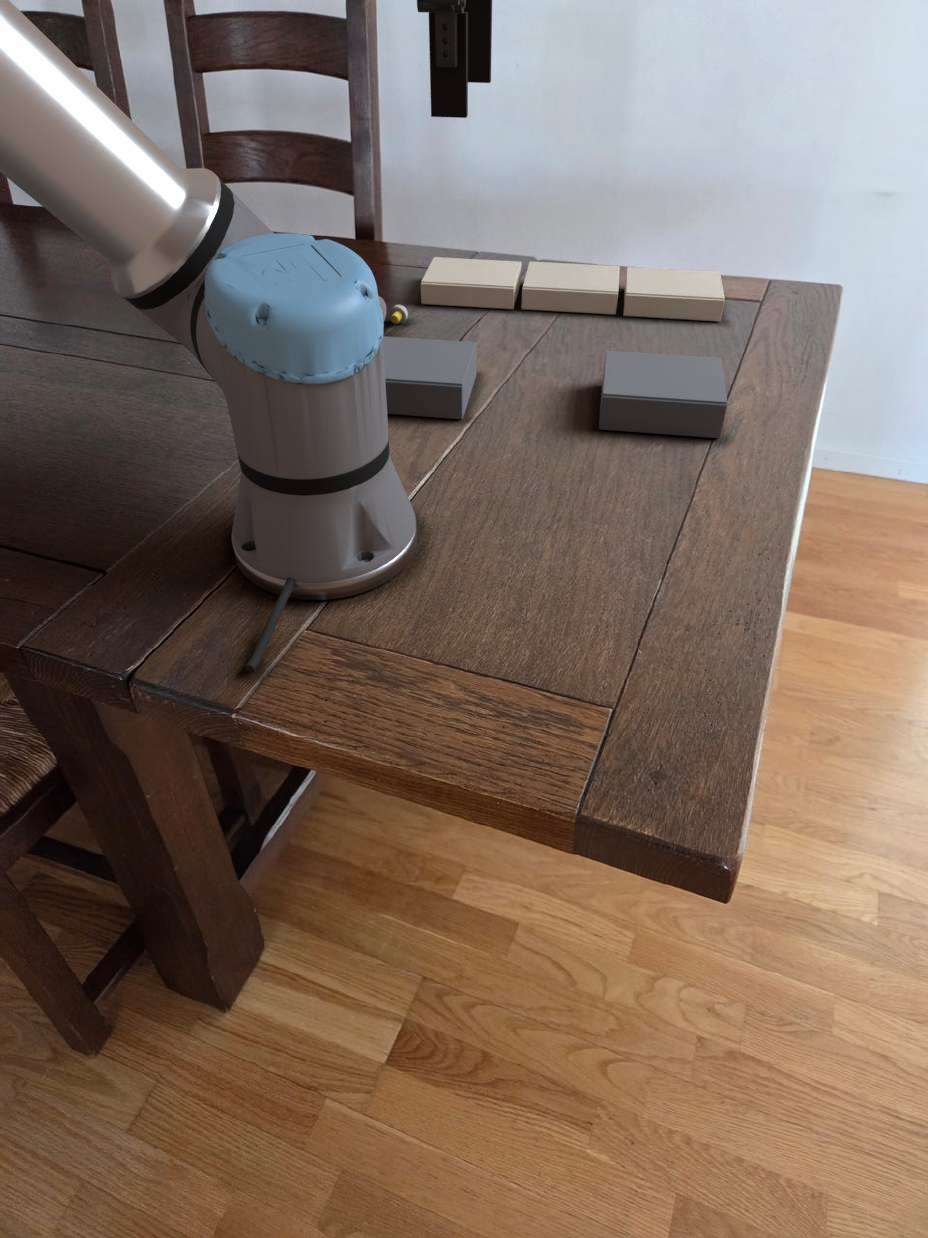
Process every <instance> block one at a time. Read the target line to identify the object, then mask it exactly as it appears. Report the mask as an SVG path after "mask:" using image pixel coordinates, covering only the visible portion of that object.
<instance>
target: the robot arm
mask: <svg viewBox="0 0 928 1238" xmlns="http://www.w3.org/2000/svg"><path fill="white" fill-rule="evenodd" d="M416 9H417V13H428V40H429V41H428V42H429V43H428V44H429V48H428V49H429V84H430V85H429V86H430V89H429V90H430V117H431V118H457V119H458V118H459V119H467V117H468V115H469V83H474V84H475V83H476V84H490V83H491V82H492V47H493V46H492V41H493V39H492V37H493V34H492V33H493V0H416ZM0 173H1V174H2V175H3V176H4V177H6V178H7V180H9V181H10V182H12V183H13V184H14V185H16V186H17V188H19V189H20V190H21V191H23V192H24V193H25V194H26V195H28V196H29V197H30V198H31V199H33V200H34V201H35V202H36V203H37V204H39V205H40V206H41V207H43V209H45V210H46V211H47V212H48V213H50V214H51V215H53V217H55V218H56V219H57V220H59V222H61V223H62V224H64V225H65V226H66V227H67V228H68V229H70V230H71V232H73V233H74V234H75V235H77V236H78V237H80V239H82V240H83V241H84V242H86V243H87V244H88V245H89V246H91V248H93V249H94V250H96V251H97V252H98V253H99V254H100V255H101V256H103V257H104V258H105V259H106V260H107V262H108V265H109V272H110V279H111V285H112V287H113V290H114V291H115V292H116V293H117V294H118V295H119V296H121V298H123V299H124V300H126V301H127V302H128V303H129V304H131V306H133V307H134V308H135V309H137V310H138V311H139V312H141V313H142V314H143V315H144V316H146V317H147V318H148V319H150V320H151V321H152V322H153V323H154V324H156V325H157V326H158V327H160V328H161V329H162V330H163V331H165V332H166V333H167V334H169V335H170V336H171V337H172V338H174V339H175V340H176V341H177V342H178V343H180V344H181V345H182V346H183V347H184V348H186V350H188V352H189V353H191V354H192V355H193V357H194V358H195V359H196V360H197V361H198V362H199V364H200V365H201V366H202V367H203V368H204V370H205V371H206V373H207V374H208V375H209V376H210V377H211V378H212V380H213V381H214V382H215V383H216V385H217V386H218V387H219V388H220V390H221V391H222V393H223V396H224V398H225V401H226V404H227V408H228V414H229V418H230V423H231V428H232V434H233V438H234V439H233V440H234V443H235V448H236V452H237V458H238V463H239V467H240V479H239V480H240V482H239V487H238V492H237V500H236V505H235V510H234V516H233V522H232V528H231V529H232V530H231V544H232V549H233V552H234V557H235V561H236V564H237V567H238V568H239V571H241V574H242V575H243V576H244V577H245V578H246V579H247V580H249V581H250V582H251V583H252V584H253V585H255V586H257V587H258V588H260V589H262V590H264V591H266V592H269V593H271V594H273V595H277V596H278V597H277V599H276V601H275V603H274V606H273V608H272V610H271V612H270V614H269V616H268V619H267V621H266V623H265V626H264V628H263V630H262V632H261V634H260V636H259V639H258V641H257V643H256V645H255V647H254V649H253V652H252V654H251V656H250V658H249V660H248V662H247V663H246V665H245V666H244V669H245V670H246V671H247V672H248V673H254V672H255V670H256V668H257V667H258V666H259V664H260V661H261V660H262V658H263V656H264V654H265V652H266V649H267V647H268V645H269V643H270V640H271V638H272V636H273V634H274V631H275V629H276V626H277V624H278V622H279V620H280V617H281V615H282V613H283V611H284V609H285V606H286V604H287V602H288V600H289V598H290V599H296V600H304V601H305V600H306V601H323V600H324V601H325V600H334V599H343V598H347V597H352V596H356V595H359V594H361V593H362V594H363V593H365V592H368V591H370V590H373V589H375V588H377V587H379V586H382V585H383V584H385V583H387V582H388V581H390V580H391V579H393V578H394V577H396V576H397V575H398V574H399V573H401V572H402V571H403V570H404V569H405V568H406V567H407V565H409V563H410V562H411V560H412V558H413V556H414V554H415V553H416V550H417V546H418V531H417V530H418V529H417V528H418V525H417V515H416V513H415V510H414V508H413V505H412V502H411V501H410V499H409V496H408V494H407V491H406V490H405V487H404V486H403V483H402V481H401V479H400V477H399V474H398V471H397V470H396V467H395V465H394V463H393V461H392V459H391V450H390V439H389V418H388V414H387V400H386V384H385V367H384V350H383V336H384V334H385V333H384V331H385V330H384V328H385V323H384V322H383V312H382V309H381V307H380V303H379V298H378V296H379V295H378V294H379V293H378V285H377V281H376V278H375V275H374V274H373V272H372V270H371V268H370V267H369V265H368V263H366V261H365V260H364V259H363V258H362V257H361V256H360V255H359V254H357V253H356V252H355V251H353V250H352V249H350V248H348V247H347V246H345V245H343V244H341V243H339V242H337V241H334V240H331V239H329V238H323V239H315V238H314V236H313V235H310V234H302V233H290V232H287V233H286V232H283V233H282V232H281V233H279V232H278V233H275V232H274V231H272V230H271V229H270V228H269V227H268V226H267V225H266V224H265V222H263V221H262V220H261V218H260V217H259V216H257V214H255V212H254V211H252V209H250V208H249V207H248V205H247V204H246V203H245V202H244V201H243V200H241V198H240V197H239V196H238V195H236V194H235V192H234V191H233V190H231V188H230V187H228V186H227V184H225V182H224V181H223V180H222V179H221V178H220V177H219V176H218V175H217V174H216V173H215V172H214V171H212V170H210V169H208V168H204V167H203V168H202V167H196V168H192V167H191V168H182V167H180V166H179V165H177V163H175V162H174V161H173V160H172V158H171V157H169V155H167V153H165V152H164V151H163V150H162V149H161V148H160V147H159V146H158V145H157V144H156V143H155V142H154V141H153V140H152V139H151V138H150V137H149V136H148V135H147V134H146V133H145V132H144V131H143V130H142V129H141V128H140V127H139V126H138V125H137V124H136V123H135V122H133V120H132V119H131V118H130V117H128V115H127V114H125V113H124V111H122V110H121V109H120V107H118V105H116V103H114V102H113V100H112V99H110V98H109V96H107V95H106V94H105V93H104V92H103V91H102V90H101V89H100V88H99V87H98V86H97V85H96V84H95V83H94V82H93V81H92V80H91V79H90V78H89V77H88V76H87V75H86V74H85V73H84V72H83V71H82V70H81V69H80V68H79V67H78V66H77V65H76V64H74V63H73V61H71V59H70V58H69V57H67V55H66V54H64V52H63V51H62V50H60V48H58V47H57V46H56V45H55V44H54V43H53V42H52V41H51V40H50V39H49V38H48V37H47V36H46V34H44V33H43V32H42V31H41V30H40V29H39V28H38V27H37V26H36V25H35V24H34V23H33V22H32V21H31V20H30V19H29V18H28V17H27V16H25V14H24V13H23V12H22V11H21V10H20V9H19V8H18V7H17V6H15V4H13V3H12V2H11V0H0Z"/></svg>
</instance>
